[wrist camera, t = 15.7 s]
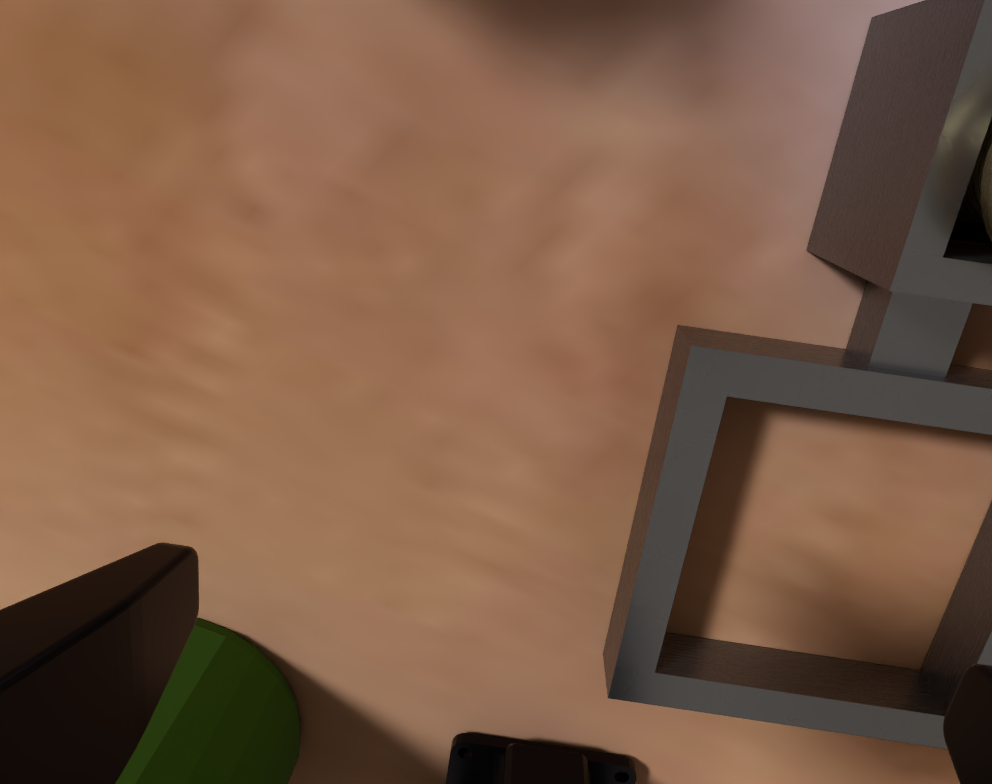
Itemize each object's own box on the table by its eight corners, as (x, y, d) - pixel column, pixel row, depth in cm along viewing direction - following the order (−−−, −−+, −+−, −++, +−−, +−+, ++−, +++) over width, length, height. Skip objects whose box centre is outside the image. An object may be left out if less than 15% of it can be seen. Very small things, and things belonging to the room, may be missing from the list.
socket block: (944, 704, 24) (1040, 843, 20) (602, 653, 24) (616, 780, 20) (1228, 67, 17) (1479, 46, 13) (751, 0, 18) (827, -44, 13)
